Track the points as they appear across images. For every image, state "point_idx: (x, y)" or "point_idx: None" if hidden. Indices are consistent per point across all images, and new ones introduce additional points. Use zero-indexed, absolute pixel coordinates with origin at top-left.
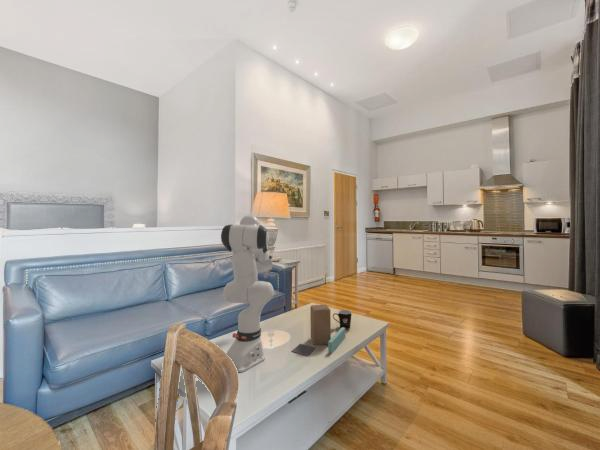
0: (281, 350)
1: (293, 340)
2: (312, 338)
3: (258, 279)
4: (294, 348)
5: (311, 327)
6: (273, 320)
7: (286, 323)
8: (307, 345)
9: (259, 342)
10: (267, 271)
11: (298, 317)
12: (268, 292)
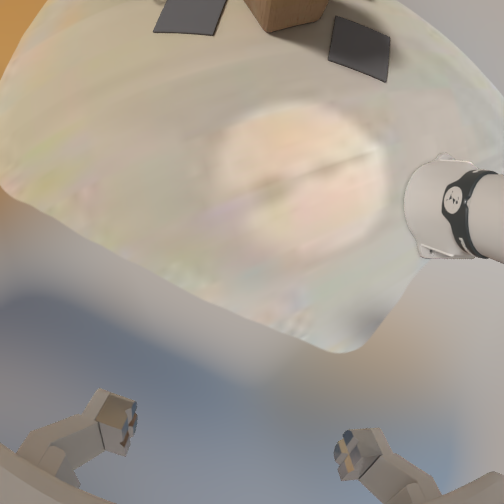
0: (386, 113)
1: (303, 86)
2: (304, 19)
3: (354, 435)
4: (367, 73)
5: (293, 4)
6: (122, 240)
7: (137, 169)
8: (332, 37)
9: (476, 168)
10: (49, 458)
11: (68, 149)
12: None
